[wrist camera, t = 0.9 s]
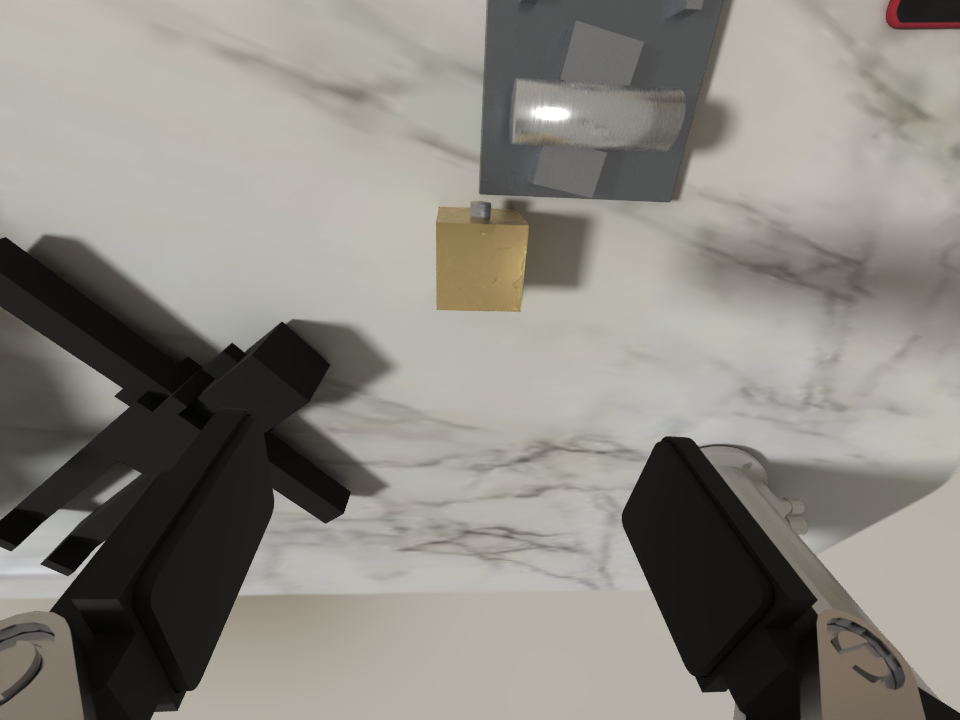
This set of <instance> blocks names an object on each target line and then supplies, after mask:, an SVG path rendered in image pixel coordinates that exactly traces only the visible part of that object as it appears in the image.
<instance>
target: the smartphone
mask: <svg viewBox="0 0 960 720" xmlns="http://www.w3.org/2000/svg"><path fill="white" fill-rule="evenodd" d="M886 21H887V23H888V24H889V25H890V26H892V27H894V28H960V0H890V2H889V5H888V8H887V11H886Z"/></svg>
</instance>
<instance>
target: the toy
mask: <svg viewBox="0 0 960 720" xmlns="http://www.w3.org/2000/svg"><path fill="white" fill-rule="evenodd" d="M0 306H1V307H2V308H4V309H5V310H7V311H8V312H10V313H11V314H13V315H14V316H16V317H17V318H19V319H20V320H22V321H23V322H25V323H26V324H28V325H29V326H31V327H32V328H34V329H35V330H37V331H38V332H40V333H41V334H43V335H44V336H46V337H47V338H49V339H50V340H52V341H53V342H55V343H56V344H57V345H59V346H60V347H62V348H63V349H65V350H66V351H68V352H69V353H71V354H72V355H74V356H75V357H77V358H78V359H80V360H81V361H83V362H84V363H86V364H87V365H89V366H90V367H92V368H93V369H95V370H96V371H98V372H99V373H101V374H102V375H104V376H105V377H107V378H108V379H110V380H111V381H113V382H114V383H116V384H117V385H119V386H120V387H122V388H123V389H122V390H121V391H120V392H119V393H117V394H116V395H115V397H116V398H118V399H119V400H121V401H122V402H124V403H125V404H127V405H128V406H130V407H129V408H128V409H127V410H126V411H125V412H124V413H122V414H121V415H120V416H119V417H118V418H117V419H116V420H114V421H113V422H112V423H111V424H110V425H109V426H108V427H107V428H105V429H104V430H103V431H102V432H101V433H100V434H99V435H97V436H96V437H95V438H94V439H93V440H92V441H91V442H89V443H88V444H87V445H86V446H85V447H84V448H83V449H81V450H80V451H79V452H78V453H77V454H76V455H75V456H74V457H72V458H71V459H70V460H69V461H68V462H67V463H66V464H64V465H63V466H62V467H61V468H60V469H59V470H58V471H56V472H55V473H54V474H53V475H52V476H51V477H50V478H48V479H47V480H46V481H45V482H44V483H43V484H42V485H40V486H39V487H38V488H37V489H36V490H35V491H34V492H32V493H31V494H30V495H29V496H28V497H27V498H26V499H24V500H23V501H22V502H21V503H20V504H19V505H18V506H16V507H15V508H14V509H13V510H12V511H11V512H10V513H8V514H7V515H6V516H5V517H4V518H3V519H1V520H0V547H2V548H4V549H7V550H9V551H12V550H14V549H15V548H16V547H17V546H18V545H19V544H21V543H22V542H23V541H24V540H25V539H26V538H27V537H28V536H29V535H30V534H31V533H32V532H33V531H34V530H35V529H36V528H37V527H38V526H39V525H40V524H41V523H43V522H44V521H45V520H46V519H47V518H49V517H50V516H51V515H52V514H54V513H55V512H56V511H57V510H58V509H60V508H61V507H62V506H63V505H65V504H66V503H67V502H68V501H70V500H71V499H72V498H73V497H74V496H76V495H77V494H78V493H79V492H81V491H82V490H83V489H84V488H86V487H87V486H88V485H89V484H90V483H92V482H93V481H94V480H95V479H97V478H98V477H99V476H100V475H102V474H103V473H104V472H105V471H106V470H108V469H109V468H110V467H111V466H113V465H114V464H115V463H116V462H117V461H119V460H120V461H121V462H123V463H125V464H127V465H128V466H130V467H132V468H133V469H135V470H137V471H138V472H140V473H142V474H141V475H140V476H139V477H137V478H136V479H135V480H134V481H132V482H131V483H130V484H128V485H127V486H126V487H124V488H123V489H122V490H121V491H119V492H118V493H117V494H115V495H114V496H113V497H112V498H110V499H109V500H108V501H106V502H105V503H104V504H103V505H101V506H100V507H99V508H98V509H96V510H95V511H94V512H93V513H91V514H90V515H89V516H88V517H86V518H85V519H84V520H83V521H81V522H80V523H79V524H78V525H77V527H76V528H75V529H74V530H73V531H72V532H71V533H70V534H69V535H68V536H67V537H66V538H65V539H64V540H63V541H62V542H61V543H60V544H59V545H58V546H57V547H56V548H55V550H54V551H53V552H52V553H51V554H50V555H49V556H48V557H47V558H46V559H45V560H44V561H43V562H42V563H41V565H43V566H46V567H48V568H50V569H52V570H55V571H57V572H59V573H62V574H64V575H66V576H69V575H71V574H72V573H73V572H75V571H76V569H77V568H78V567H79V566H80V565H81V564H82V562H83V561H84V560H85V559H86V558H87V557H88V556H89V554H90V553H91V552H92V551H93V550H94V549H95V548H96V547H97V546H98V545H100V544H101V543H103V542H104V541H105V540H107V539H108V537H109V536H110V535H111V534H112V532H113V531H114V530H115V529H116V527H117V526H118V525H119V524H120V522H121V521H122V520H123V519H124V517H125V516H126V515H127V514H128V512H129V511H130V510H131V509H132V507H133V506H134V505H135V504H136V502H137V501H138V500H139V499H140V497H141V496H142V495H143V493H144V492H145V491H146V490H147V488H148V487H149V486H150V485H151V483H152V482H153V481H154V480H155V478H156V477H157V476H158V475H159V474H160V473H161V472H162V471H164V470H166V469H168V468H173V467H174V465H175V464H176V463H177V462H178V460H179V459H180V458H181V456H182V455H183V454H184V453H185V451H186V450H187V449H188V447H189V446H190V445H191V443H192V442H193V441H194V440H195V438H196V437H197V436H198V434H199V433H200V432H201V431H202V429H203V428H204V427H205V425H206V424H207V423H208V421H209V420H210V419H211V418H212V416H213V415H214V414H215V412H216V411H217V410H218V409H219V408H222V407H225V408H240V409H250V410H252V412H253V414H254V416H259V417H260V418H261V419H262V424H263V431H264V437H265V443H266V450H267V456H268V463H269V469H270V476H271V482H272V488H273V489H274V490H276V491H277V492H279V493H280V494H282V495H283V496H285V497H286V498H288V499H289V500H291V501H292V502H294V503H295V504H297V505H298V506H300V507H301V508H303V509H304V510H306V511H307V512H309V513H310V514H312V515H313V516H315V517H316V518H318V519H319V520H321V521H322V522H324V523H325V524H326V523H328V522H329V521H331V520H333V519H335V518H337V517H338V516H340V515H342V514H344V511H345V508H346V505H347V502H348V499H349V496H350V493H351V492H350V491H349V490H347V489H346V488H345V487H343V486H342V485H340V484H339V483H338V482H336V481H335V480H334V479H332V478H331V477H330V476H328V475H327V474H326V473H324V472H323V471H322V470H320V469H319V468H317V467H316V466H315V465H313V464H312V463H311V462H309V461H308V460H307V459H305V458H304V457H303V456H301V455H300V454H299V453H297V452H296V451H294V450H293V449H292V448H290V447H289V446H288V445H286V444H285V443H284V442H282V441H281V440H280V439H278V438H277V437H276V436H274V435H273V434H271V433H270V432H269V431H268V430H270V429H271V428H273V427H274V426H275V425H277V424H278V423H280V422H281V421H282V420H284V419H285V418H287V417H288V416H290V415H291V414H292V413H294V412H295V411H297V410H298V409H300V408H301V407H302V406H304V405H305V404H307V403H308V402H309V401H310V399H311V398H312V396H313V394H314V392H315V391H316V389H317V387H318V385H319V384H320V382H321V380H322V378H323V377H324V375H325V373H326V371H327V370H328V368H329V366H330V364H329V363H328V362H327V361H326V360H324V359H323V358H322V357H321V356H320V355H319V354H318V353H317V352H316V351H314V350H313V349H312V348H311V347H310V346H309V345H308V344H307V343H305V342H304V341H303V340H302V339H301V338H300V337H299V336H298V335H297V334H295V333H294V332H293V331H292V330H291V329H290V328H289V327H288V326H287V325H285V324H284V323H283V322H281V323H280V324H278V325H277V326H276V327H275V328H274V329H272V330H271V331H270V332H269V333H267V334H266V335H265V336H264V337H263V338H261V339H260V340H259V341H258V342H256V343H255V344H254V345H253V346H252V347H250V348H249V349H248V350H247V351H246V352H243V351H242V350H241V349H239V348H238V347H237V346H236V345H234V344H233V343H231V344H230V345H229V346H228V347H227V348H225V349H224V350H223V351H222V352H221V353H219V354H218V355H217V356H216V357H215V358H214V359H212V360H211V361H210V362H209V363H208V364H207V365H206V366H205V367H204V368H202V367H201V366H200V365H198V364H197V363H196V362H194V361H193V360H192V359H191V358H189V357H187V358H186V359H185V360H184V361H182V362H181V363H180V364H179V365H178V364H177V363H175V362H174V361H173V360H171V359H170V358H169V357H167V356H166V355H165V354H163V353H162V352H160V351H159V350H158V349H156V348H155V347H154V346H152V345H151V344H150V343H148V342H147V341H146V340H144V339H143V338H142V337H140V336H139V335H137V334H136V333H135V332H133V331H132V330H131V329H129V328H128V327H127V326H125V325H124V324H123V323H121V322H120V321H118V320H117V319H116V318H114V317H113V316H112V315H110V314H109V313H108V312H106V311H105V310H104V309H102V308H101V307H100V306H98V305H97V304H95V303H94V302H93V301H91V300H90V299H89V298H87V297H86V296H85V295H83V294H82V293H81V292H79V291H78V290H77V289H75V288H74V287H72V286H71V285H70V284H68V283H67V282H66V281H64V280H63V279H62V278H60V277H59V276H58V275H56V274H55V273H54V272H52V271H51V270H49V269H48V268H47V267H45V266H44V265H43V264H41V263H40V262H39V261H37V260H36V259H35V258H33V257H32V256H31V255H29V254H28V253H26V252H25V251H24V250H22V249H21V248H20V247H18V246H17V245H16V244H14V243H13V242H12V241H10V240H9V239H8V238H6V237H5V238H1V239H0Z"/></svg>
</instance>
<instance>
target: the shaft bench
mask: <svg viewBox="0 0 960 720" xmlns="http://www.w3.org/2000/svg"><path fill="white" fill-rule="evenodd" d="M722 2H723V0H487V11H486V34H485V58H484V82H483V105H482V129H481V153H480V176H479V194H487V195H511V196H534V197H558V198H581V199H605V200H628V201H652V202H670V201H671V197H672V193H673V190H674V186H675V182H676V178H677V174H678V170H679V167H680V163H681V159H682V155H683V151H684V147H685V144H686V140H687V136H688V132H689V128H690V125H691V121H692V117H693V113H694V109H695V105H696V102H697V98H698V94H699V90H700V86H701V83H702V79H703V75H704V71H705V67H706V63H707V60H708V56H709V52H710V48H711V44H712V41H713V37H714V33H715V29H716V25H717V21H718V18H719V14H720V10H721V6H722Z"/></svg>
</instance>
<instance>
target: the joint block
mask: <svg viewBox="0 0 960 720" xmlns="http://www.w3.org/2000/svg"><path fill="white" fill-rule="evenodd" d="M528 233H529V225H528V223H527V222H526V221H525V220H524V219H523V217H522V216H521V215H520V214H519V212H518V211H517V210H499V209H491V203H490V202H483V201H473V202H471V205H470V208H449V207H439V209H438V215H437V220H436V273H437V310H463V311H511V312H520V311H521V301H522V291H523V282H524V272H525V262H526V252H527V243H528Z"/></svg>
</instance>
